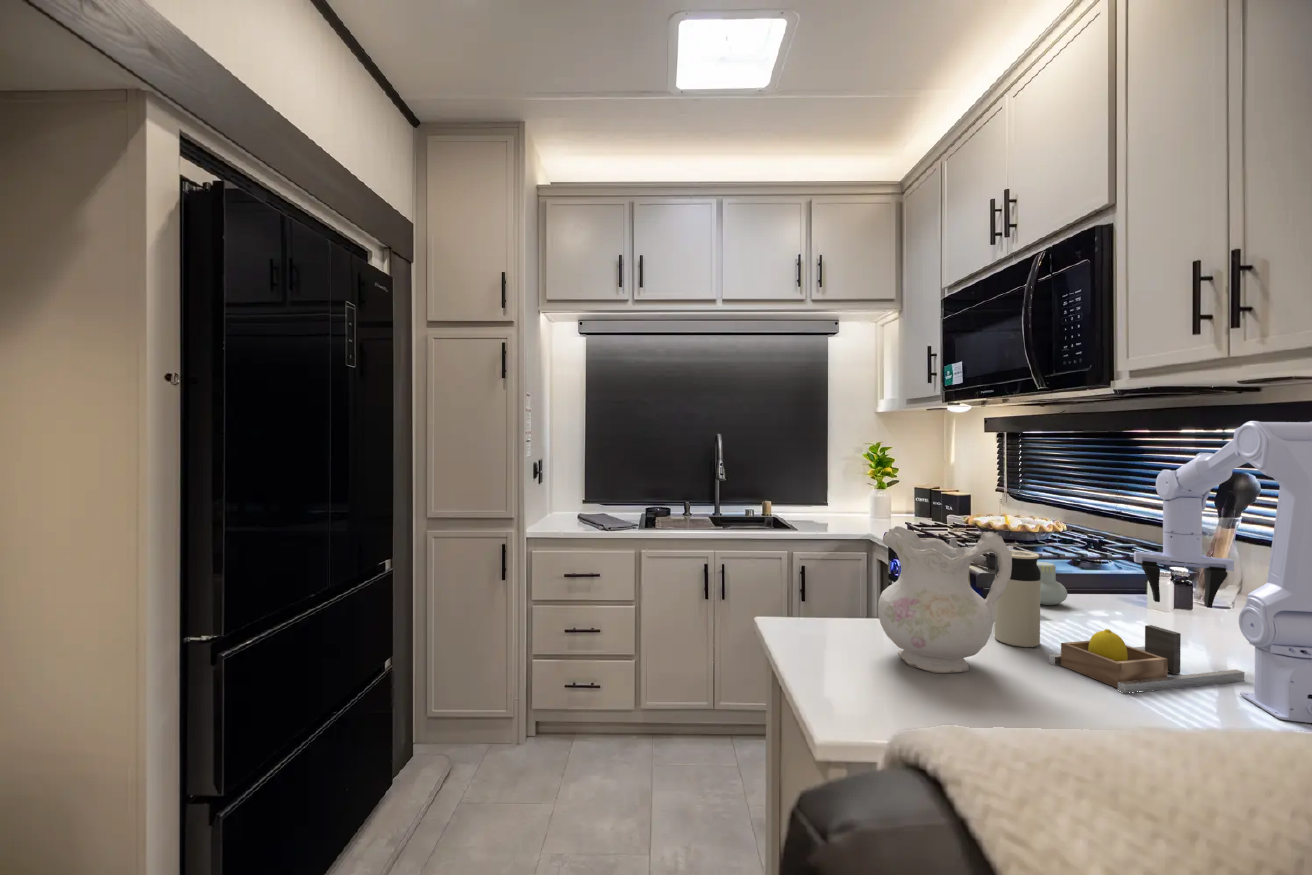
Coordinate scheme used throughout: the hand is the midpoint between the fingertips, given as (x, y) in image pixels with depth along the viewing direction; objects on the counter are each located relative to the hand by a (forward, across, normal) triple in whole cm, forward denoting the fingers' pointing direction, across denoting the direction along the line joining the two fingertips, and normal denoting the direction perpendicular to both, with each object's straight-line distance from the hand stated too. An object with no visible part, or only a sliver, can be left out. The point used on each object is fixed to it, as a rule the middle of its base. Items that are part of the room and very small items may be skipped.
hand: (1181, 603), depth 118 cm
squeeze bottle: (+10, +40, -6) cm, 42 cm away
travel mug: (+10, +27, +8) cm, 30 cm away
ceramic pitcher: (+10, +39, +30) cm, 51 cm away
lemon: (+10, +14, +21) cm, 27 cm away
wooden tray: (+10, +10, +18) cm, 23 cm away
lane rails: (+10, +9, +16) cm, 21 cm away
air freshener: (+10, +22, -31) cm, 39 cm away
